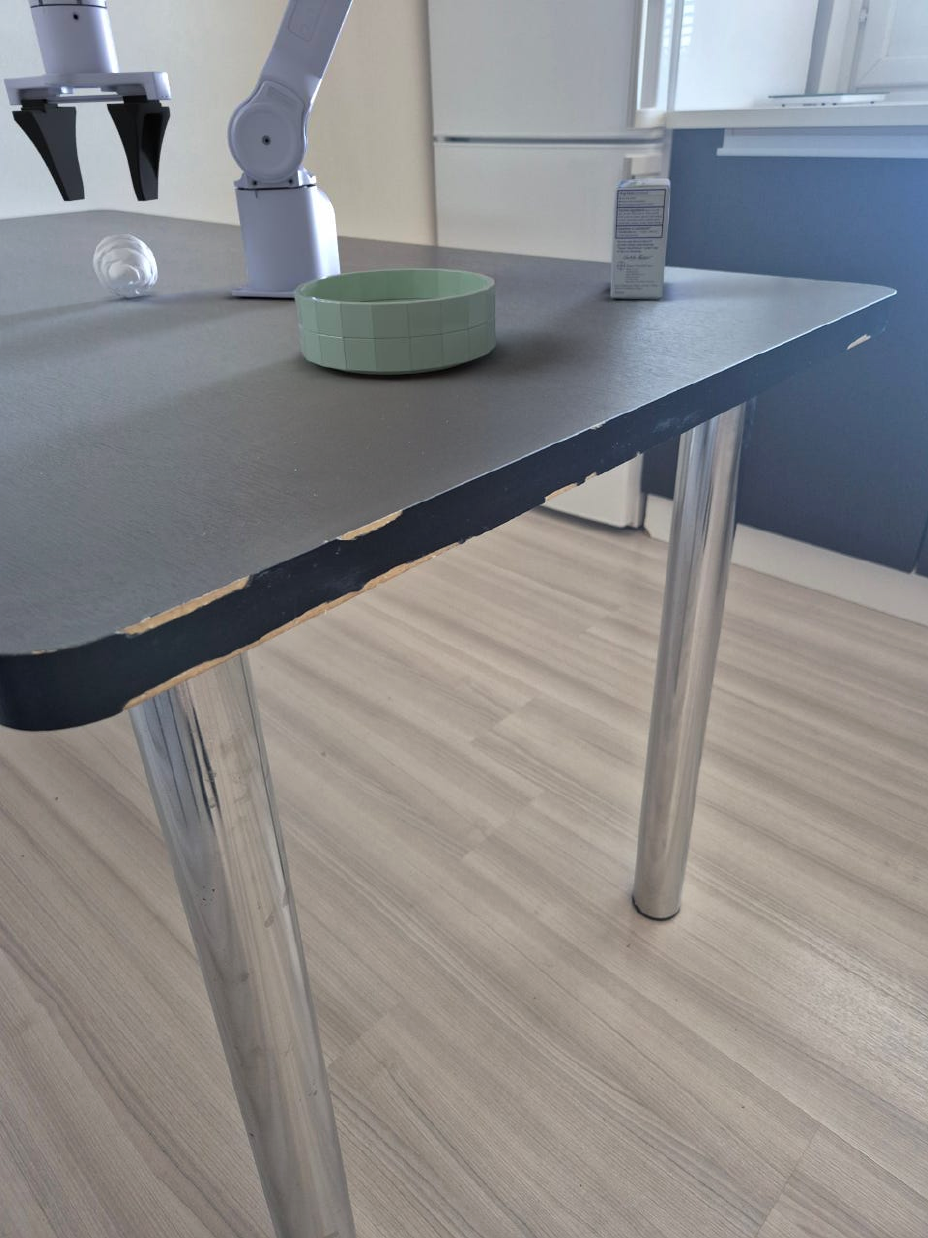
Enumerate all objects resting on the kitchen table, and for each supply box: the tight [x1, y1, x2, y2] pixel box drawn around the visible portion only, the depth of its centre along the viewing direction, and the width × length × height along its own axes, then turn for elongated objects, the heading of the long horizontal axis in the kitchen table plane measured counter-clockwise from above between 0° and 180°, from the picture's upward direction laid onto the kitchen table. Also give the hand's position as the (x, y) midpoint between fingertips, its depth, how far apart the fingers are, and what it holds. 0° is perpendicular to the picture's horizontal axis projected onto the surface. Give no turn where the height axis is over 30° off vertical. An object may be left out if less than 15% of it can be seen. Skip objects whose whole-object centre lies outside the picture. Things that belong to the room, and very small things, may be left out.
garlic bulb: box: [92, 233, 158, 299], centre depth 77 cm, size 6×6×5 cm
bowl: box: [294, 267, 497, 376], centre depth 56 cm, size 13×13×4 cm
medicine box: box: [610, 178, 671, 300], centre depth 72 cm, size 8×4×9 cm, turn 168°
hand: (110, 200), depth 74 cm, fingers open, 7 cm apart
